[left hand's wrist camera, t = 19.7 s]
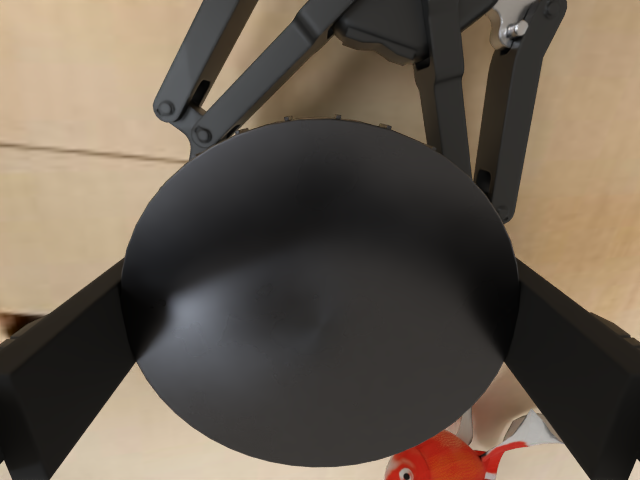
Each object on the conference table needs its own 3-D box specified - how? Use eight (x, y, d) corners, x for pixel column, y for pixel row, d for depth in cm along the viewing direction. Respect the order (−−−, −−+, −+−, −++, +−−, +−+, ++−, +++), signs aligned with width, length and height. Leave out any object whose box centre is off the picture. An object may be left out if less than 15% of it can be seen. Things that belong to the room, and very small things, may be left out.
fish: (400, 372, 25) (497, 552, 18) (539, 339, 32) (645, 461, 25) (348, 434, 31) (404, 584, 25) (473, 396, 38) (543, 504, 32)
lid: (413, 33, 9) (433, 17, 8) (534, 355, 13) (567, 393, 11) (73, 227, 11) (28, 247, 9) (261, 462, 14) (253, 508, 13)
